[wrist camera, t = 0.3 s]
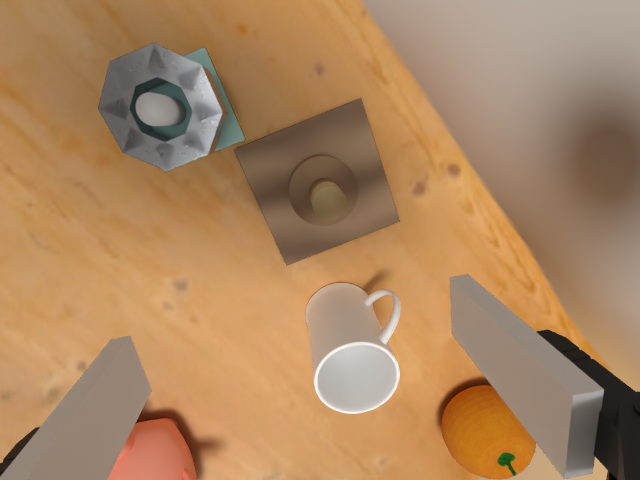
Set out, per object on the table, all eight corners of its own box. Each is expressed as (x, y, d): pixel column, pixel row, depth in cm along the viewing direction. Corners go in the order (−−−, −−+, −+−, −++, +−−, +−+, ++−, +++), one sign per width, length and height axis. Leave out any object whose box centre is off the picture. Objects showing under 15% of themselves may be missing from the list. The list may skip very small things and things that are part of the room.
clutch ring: (98, 78, 30) (78, 74, 27) (195, 38, 30) (185, 29, 27) (152, 177, 33) (139, 182, 30) (240, 141, 33) (236, 143, 30)
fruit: (525, 411, 52) (577, 475, 42) (456, 451, 53) (493, 522, 44) (490, 359, 48) (539, 417, 39) (418, 403, 50) (449, 470, 40)
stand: (119, 83, 34) (63, 70, 25) (205, 47, 34) (177, 22, 25) (166, 171, 37) (129, 186, 28) (245, 139, 37) (233, 144, 28)
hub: (234, 149, 37) (219, 156, 29) (360, 98, 36) (380, 91, 28) (286, 264, 41) (286, 298, 33) (398, 220, 41) (426, 244, 33)
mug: (360, 250, 42) (388, 297, 30) (406, 294, 44) (447, 354, 33) (290, 315, 43) (291, 383, 32) (338, 354, 46) (354, 430, 35)
